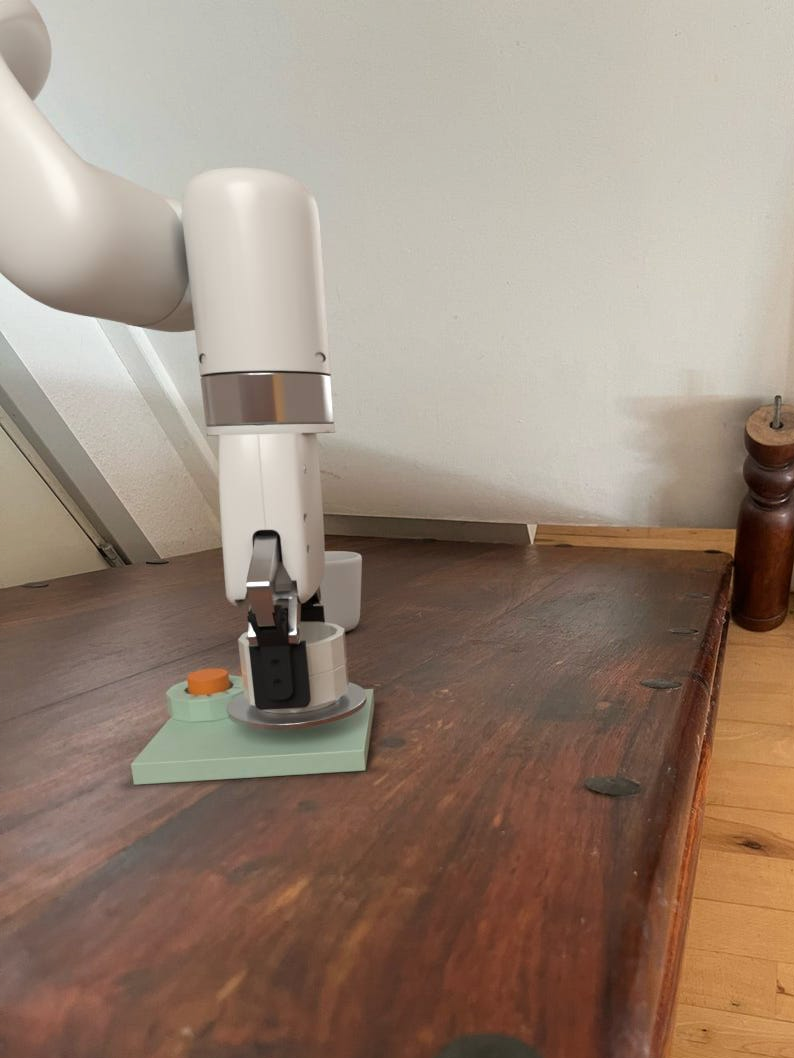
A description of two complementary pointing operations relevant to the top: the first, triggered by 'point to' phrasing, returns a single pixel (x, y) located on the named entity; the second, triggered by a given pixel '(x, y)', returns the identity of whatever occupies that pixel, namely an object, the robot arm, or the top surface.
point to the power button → (208, 681)
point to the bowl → (310, 665)
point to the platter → (260, 719)
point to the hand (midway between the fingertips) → (295, 681)
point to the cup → (342, 588)
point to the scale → (246, 743)
